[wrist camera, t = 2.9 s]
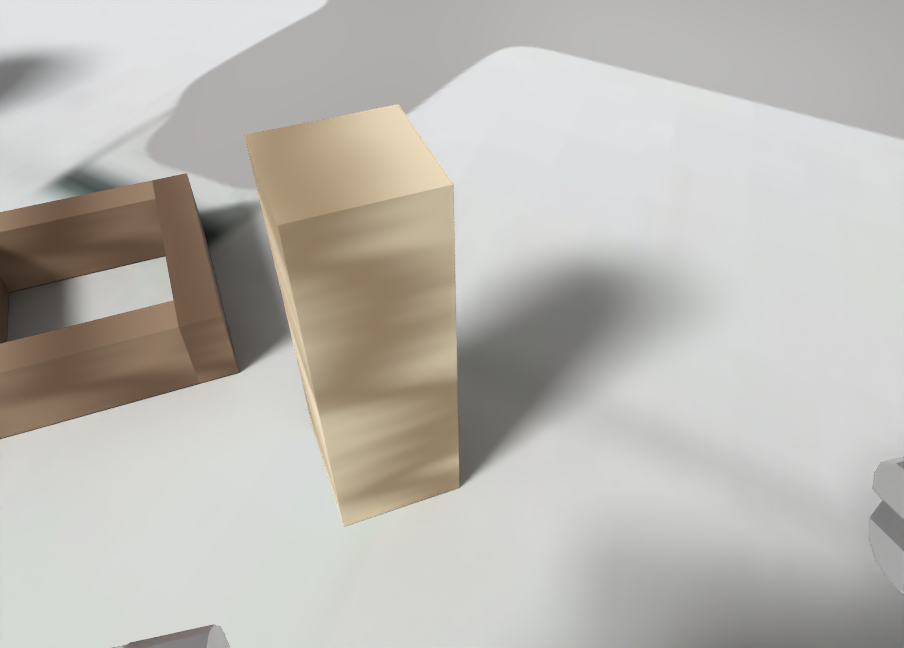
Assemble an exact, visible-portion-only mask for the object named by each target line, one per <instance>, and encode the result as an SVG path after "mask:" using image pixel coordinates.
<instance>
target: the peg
mask: <svg viewBox="0 0 904 648" xmlns="http://www.w3.org/2000/svg"><path fill="white" fill-rule="evenodd" d="M245 139H246V143H247V148H248V152H249V156H250V160H251V165H252V169H253V173H254V178H255V182H256V186H257V191H258V195H259V199H260V203H261V208H262V212H263V216H264V221H265V225H266V229H267V233H268V238H269V242H270V246H271V251H272V255H273V259H274V263H275V268H276V272H277V276H278V281H279V285H280V289H281V293H282V298H283V302H284V306H285V311H286V315H287V319H288V323H289V328H290V332H291V336H292V341H293V345H294V349H295V354H296V358H297V362H298V366H299V371H300V375H301V379H302V384H303V388H304V392H305V396H306V401H307V405H308V409H309V414H310V418H311V422H312V426H313V431H314V435H315V438H316V441H317V444H318V447H319V451H320V454H321V457H322V460H323V463H324V466H325V469H326V472H327V476H328V479H329V482H330V485H331V488H332V491H333V494H334V498H335V501H336V504H337V507H338V510H339V513H340V516H341V519H342V523H343V526H344V527H345V526H348V525H351V524H353V523H356V522H359V521H362V520H365V519H368V518H371V517H374V516H377V515H380V514H383V513H386V512H389V511H392V510H395V509H398V508H401V507H404V506H407V505H410V504H413V503H416V502H419V501H422V500H424V499H427V498H430V497H433V496H436V495H439V494H442V493H445V492H448V491H451V490H454V489H457V488H460V483H459V433H458V383H457V333H456V282H455V232H454V184H453V183H452V181H451V180H450V178H449V177H448V176H447V174H446V173H445V171H444V170H443V168H442V167H441V165H440V164H439V163H438V161H437V160H436V158H435V157H434V155H433V154H432V152H431V151H430V150H429V148H428V147H427V145H426V144H425V142H424V141H423V139H422V138H421V136H420V135H419V134H418V132H417V131H416V129H415V128H414V126H413V125H412V123H411V122H410V121H409V119H408V118H407V116H406V115H405V113H404V112H403V111H402V109H401V108H400V106H399V105H398V104H397V105H392V106H387V107H382V108H377V109H373V110H367V111H362V112H357V113H352V114H347V115H343V116H337V117H332V118H327V119H323V120H317V121H313V122H307V123H303V124H298V125H293V126H288V127H283V128H278V129H273V130H268V131H263V132H258V133H253V134H248V135H245Z"/></svg>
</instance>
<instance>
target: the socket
mask: <svg viewBox="0 0 904 648" xmlns="http://www.w3.org/2000/svg"><path fill="white" fill-rule="evenodd" d="M161 256H166V260H167V266H168V272H169V277H170V283H171V288H172V294H173V299H174V301H170V302H166V303H162V304H158V305H154V306H150V307H146V308H142V309H138V310H134V311H130V312H126V313H122V314H117V315H113V316H109V317H105V318H101V319H97V320H93V321H89V322H85V323H81V324H77V325H73V326H69V327H65V328H61V329H57V330H53V331H49V332H45V333H41V334H37V335H33V336H29V337H25V338H21V339H17V340H13V341H9V342H7V325H8V306H9V292H12V291H16V290H20V289H24V288H29V287H33V286H37V285H41V284H46V283H50V282H54V281H59V280H63V279H67V278H71V277H76V276H80V275H84V274H89V273H93V272H97V271H101V270H106V269H110V268H114V267H118V266H123V265H127V264H131V263H136V262H140V261H144V260H148V259H153V258H157V257H161ZM235 373H239V370H238V366H237V362H236V358H235V354H234V350H233V346H232V342H231V338H230V334H229V330H228V326H227V322H226V318H225V314H224V310H223V306H222V302H221V298H220V294H219V289H218V285H217V281H216V277H215V273H214V269H213V265H212V261H211V257H210V253H209V249H208V245H207V241H206V237H205V233H204V229H203V225H202V222H201V219H200V215H199V212H198V209H197V206H196V202H195V199H194V196H193V192H192V189H191V186H190V183H189V179H188V176H187V173H186V174H181V175H176V176H172V177H167V178H162V179H157V180H153V181H148V182H143V183H138V184H133V185H129V186H124V187H119V188H114V189H110V190H105V191H100V192H95V193H90V194H86V195H81V196H76V197H71V198H67V199H62V200H57V201H52V202H47V203H43V204H38V205H33V206H28V207H23V208H19V209H14V210H9V211H4V212H0V438H4V437H8V436H11V435H15V434H18V433H22V432H26V431H29V430H33V429H37V428H40V427H44V426H47V425H51V424H55V423H58V422H62V421H65V420H69V419H73V418H76V417H80V416H83V415H87V414H91V413H94V412H98V411H102V410H105V409H109V408H112V407H116V406H120V405H123V404H127V403H130V402H134V401H138V400H141V399H145V398H148V397H152V396H156V395H159V394H163V393H167V392H170V391H174V390H177V389H181V388H185V387H188V386H192V385H195V384H199V383H203V382H206V381H210V380H213V379H217V378H221V377H224V376H228V375H232V374H235Z"/></svg>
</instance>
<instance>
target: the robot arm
mask: <svg viewBox="0 0 904 648" xmlns="http://www.w3.org/2000/svg"><path fill="white" fill-rule="evenodd" d="M872 489H873V490H874V492H875V493H876V494H877V495H878V496H879V497H880V498H881V499H882V500H883V501H882V502H881V503H880V505H879V506H878V507H877V509H876V510H875V511H874V513H873V514H872V515H871V517H870V521H869V542H870V545H871V548H872V551H873V554H874V557H875V560H876V562H877V564H878V565H879V567H880V569H881V570H882V572H883V573H884V575H885V577H886V578H887V579H888V580H889V581H890V582H891V583H892V584H893V585H894V586H895V588H896V589H897V590H898V591H899V592H900V593H902V594H904V457H900V458H896V459H892V460H888V461H884V462H881V463H880V465H879V466H878V468H877V469H876V471H875V472H874V480H873V488H872ZM113 648H230V645H229V643H228V641H227V639H226V637H225V634H224V632H223V630H222V628H221V627H220V626H217V625H209V626H205V627H200V628H196V629H191V630H186V631H182V632H177V633H173V634H168V635H163V636H159V637H154V638H150V639H145V640H140V641H136V642H131V643H129V644H128V645H123V646H118V647H113Z"/></svg>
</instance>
